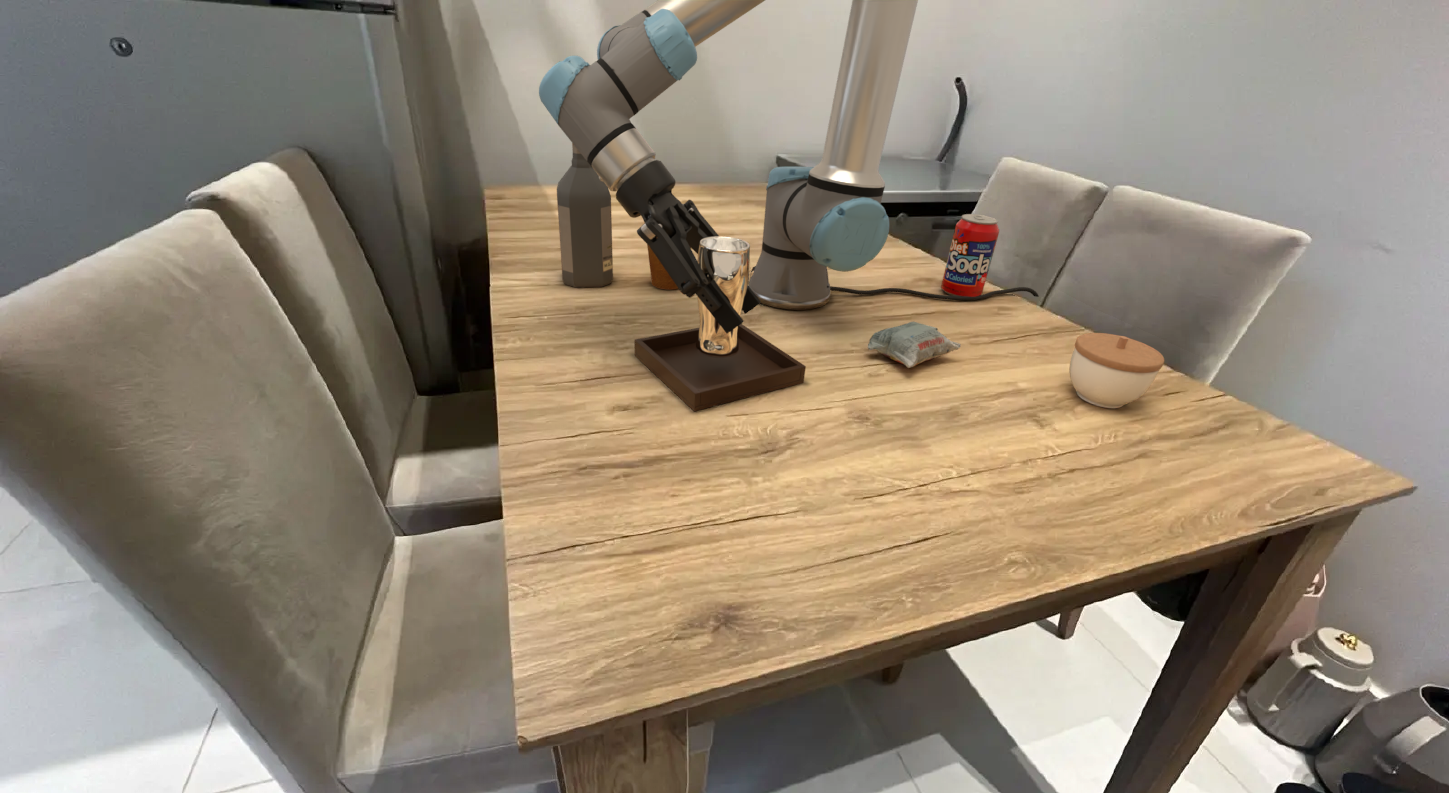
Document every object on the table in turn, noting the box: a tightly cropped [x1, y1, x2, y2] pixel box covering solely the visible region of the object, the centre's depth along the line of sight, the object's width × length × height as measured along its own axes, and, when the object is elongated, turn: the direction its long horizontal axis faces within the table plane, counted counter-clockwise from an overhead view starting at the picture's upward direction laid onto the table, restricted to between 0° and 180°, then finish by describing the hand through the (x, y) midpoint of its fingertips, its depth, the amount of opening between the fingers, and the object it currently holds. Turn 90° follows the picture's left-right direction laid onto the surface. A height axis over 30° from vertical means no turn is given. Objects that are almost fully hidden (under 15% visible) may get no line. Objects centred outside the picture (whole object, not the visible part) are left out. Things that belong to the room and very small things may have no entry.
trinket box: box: [1068, 332, 1165, 409], centre depth 87 cm, size 11×11×9 cm
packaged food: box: [867, 321, 962, 369], centre depth 96 cm, size 9×12×5 cm
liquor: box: [556, 142, 614, 288], centre depth 111 cm, size 9×9×30 cm
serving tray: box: [634, 323, 807, 412], centre depth 89 cm, size 18×18×3 cm
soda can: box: [940, 213, 1000, 297], centre depth 121 cm, size 8×8×15 cm
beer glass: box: [696, 235, 751, 358], centre depth 84 cm, size 7×7×15 cm
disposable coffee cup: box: [646, 237, 692, 291], centre depth 116 cm, size 10×10×12 cm
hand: (744, 317), depth 85 cm, fingers closed on beer glass, 7 cm apart
